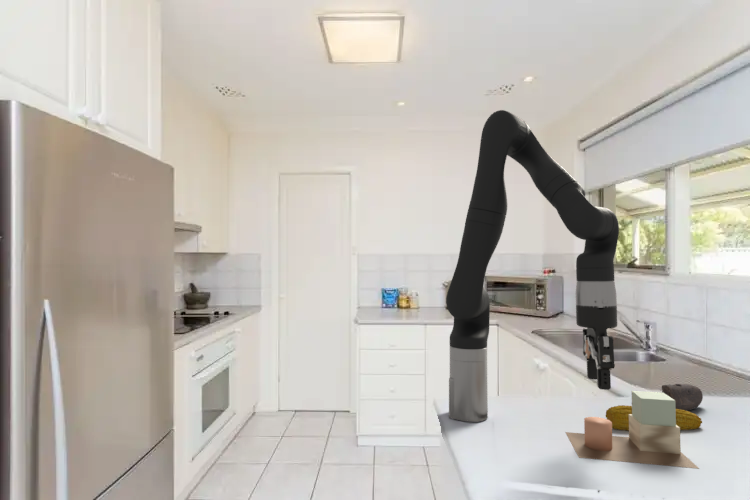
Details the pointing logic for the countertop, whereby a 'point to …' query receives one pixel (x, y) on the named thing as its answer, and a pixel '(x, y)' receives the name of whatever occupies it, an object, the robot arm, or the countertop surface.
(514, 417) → the countertop surface
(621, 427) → the food
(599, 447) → the peach rounded cylinder
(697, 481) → the countertop surface
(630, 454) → the board
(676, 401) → the perforated stone tool
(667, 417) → the top block
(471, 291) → the robot arm
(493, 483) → the countertop surface
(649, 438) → the base block
